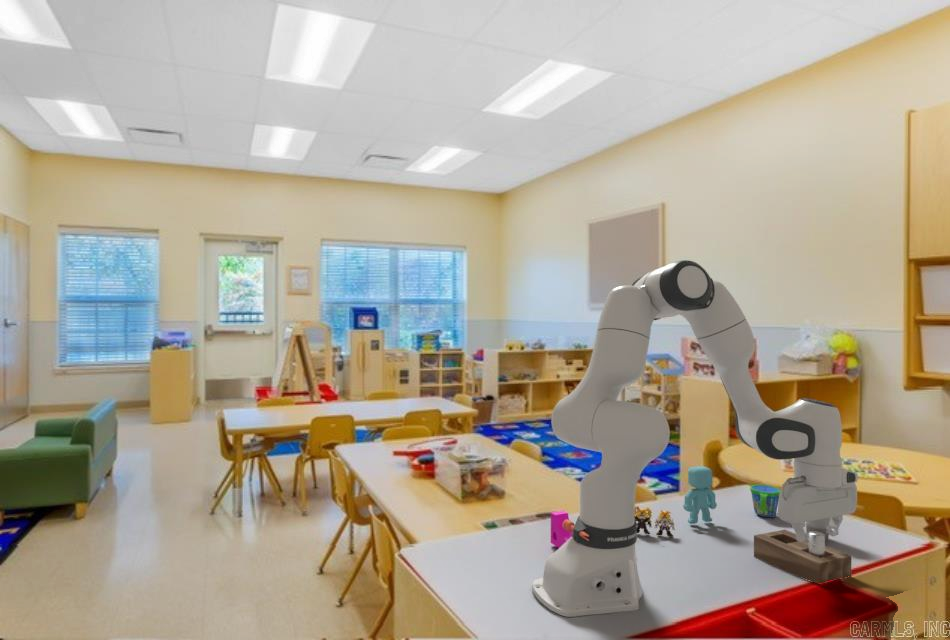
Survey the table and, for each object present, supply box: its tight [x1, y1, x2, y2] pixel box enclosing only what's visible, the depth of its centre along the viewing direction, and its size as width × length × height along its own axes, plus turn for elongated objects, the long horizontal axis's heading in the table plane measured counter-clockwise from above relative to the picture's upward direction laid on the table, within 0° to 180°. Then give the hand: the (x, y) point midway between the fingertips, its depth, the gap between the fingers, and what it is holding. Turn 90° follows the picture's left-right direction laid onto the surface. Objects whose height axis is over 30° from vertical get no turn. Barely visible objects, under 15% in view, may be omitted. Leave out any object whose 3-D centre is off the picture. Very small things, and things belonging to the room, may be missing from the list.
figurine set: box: [634, 505, 676, 538], centre depth 145 cm, size 3×16×7 cm, turn 75°
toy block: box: [550, 510, 573, 549], centre depth 132 cm, size 15×6×8 cm, turn 25°
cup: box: [805, 518, 831, 543], centre depth 140 cm, size 7×7×12 cm
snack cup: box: [749, 484, 781, 518], centre depth 158 cm, size 11×8×7 cm
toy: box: [682, 465, 718, 525], centre depth 152 cm, size 10×5×15 cm, turn 107°
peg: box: [809, 531, 826, 558], centre depth 120 cm, size 3×3×9 cm
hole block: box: [753, 529, 852, 584], centre depth 124 cm, size 10×16×5 cm, turn 22°
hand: (817, 538), depth 120 cm, fingers open, 8 cm apart
